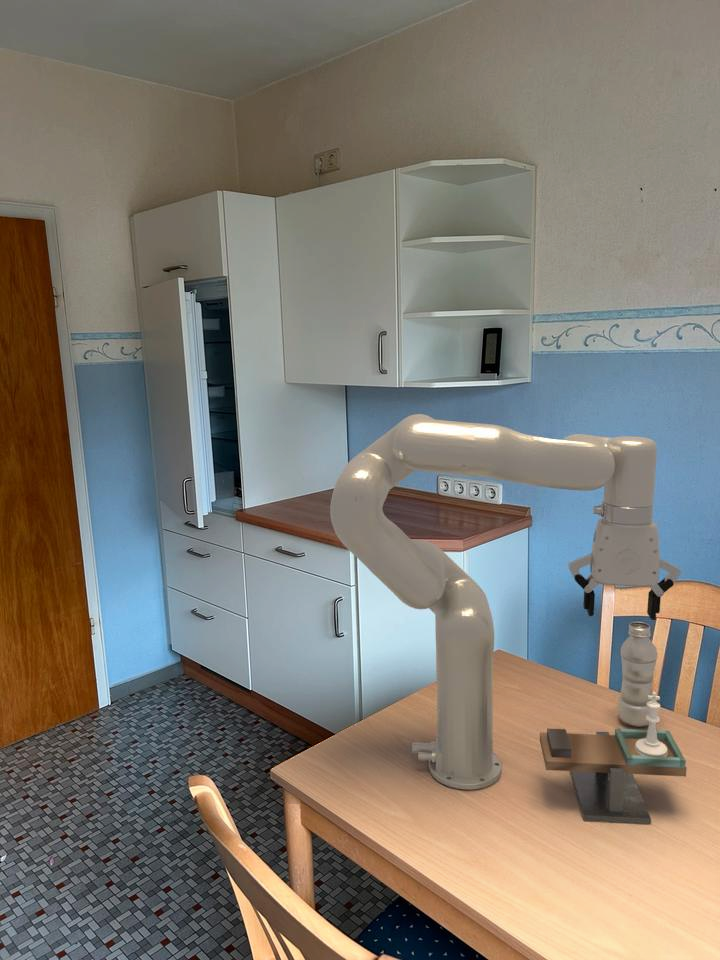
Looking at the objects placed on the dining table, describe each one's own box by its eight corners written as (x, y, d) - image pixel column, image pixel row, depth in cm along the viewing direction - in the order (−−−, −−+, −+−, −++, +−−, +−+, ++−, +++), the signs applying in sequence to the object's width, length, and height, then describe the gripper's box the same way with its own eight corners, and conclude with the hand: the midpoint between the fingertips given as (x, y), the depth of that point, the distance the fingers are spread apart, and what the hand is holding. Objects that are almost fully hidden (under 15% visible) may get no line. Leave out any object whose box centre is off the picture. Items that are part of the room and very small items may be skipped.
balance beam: (546, 775, 113) (546, 753, 112) (539, 744, 122) (539, 723, 121) (686, 782, 110) (687, 759, 110) (669, 750, 119) (670, 728, 119)
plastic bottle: (622, 710, 144) (626, 616, 140) (658, 720, 140) (662, 623, 136) (612, 725, 139) (616, 627, 135) (649, 735, 135) (653, 634, 131)
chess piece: (670, 760, 112) (674, 701, 110) (637, 757, 113) (640, 699, 111) (664, 743, 117) (667, 686, 115) (632, 741, 118) (635, 684, 116)
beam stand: (583, 820, 112) (584, 773, 110) (570, 771, 124) (571, 728, 123) (650, 824, 110) (652, 776, 109) (630, 774, 123) (632, 730, 122)
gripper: (573, 517, 113) (568, 620, 116) (690, 521, 110) (682, 627, 113) (568, 506, 120) (564, 604, 124) (678, 510, 117) (670, 610, 121)
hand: (620, 615), depth 118 cm, fingers open, 9 cm apart
